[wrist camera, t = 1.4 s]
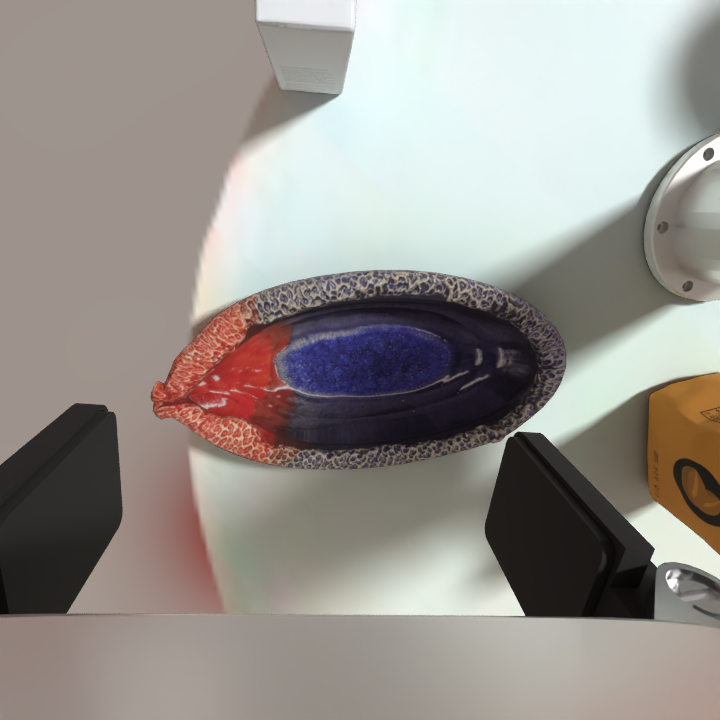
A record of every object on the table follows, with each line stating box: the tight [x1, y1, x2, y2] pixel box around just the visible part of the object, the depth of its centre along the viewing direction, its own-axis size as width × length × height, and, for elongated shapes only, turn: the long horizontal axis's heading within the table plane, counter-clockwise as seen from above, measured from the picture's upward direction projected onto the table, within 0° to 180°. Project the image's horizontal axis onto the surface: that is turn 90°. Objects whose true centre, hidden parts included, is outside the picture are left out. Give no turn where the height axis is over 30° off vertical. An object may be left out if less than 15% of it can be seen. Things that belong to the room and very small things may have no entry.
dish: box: [151, 270, 566, 470], centre depth 33 cm, size 16×31×5 cm, turn 91°
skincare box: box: [255, 0, 357, 94], centre depth 22 cm, size 6×4×12 cm
